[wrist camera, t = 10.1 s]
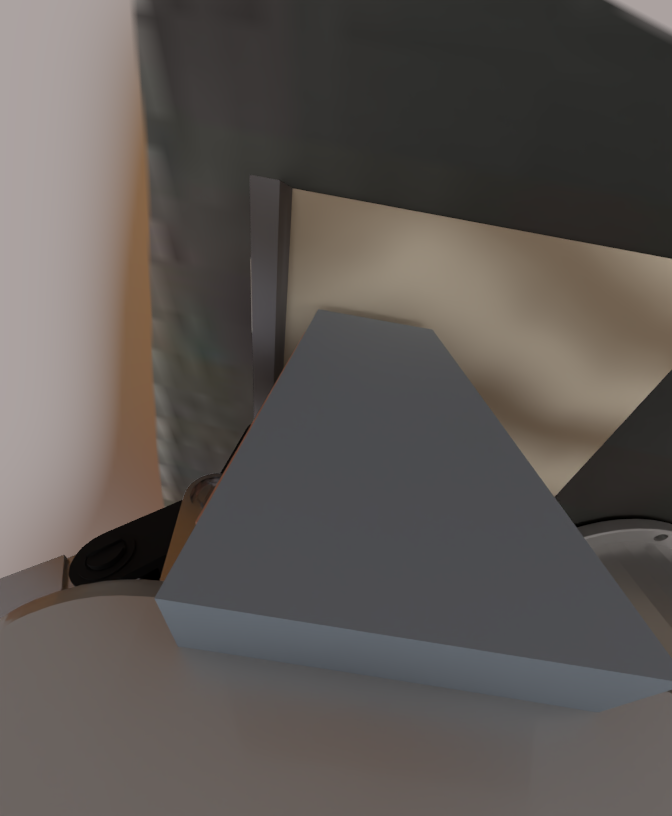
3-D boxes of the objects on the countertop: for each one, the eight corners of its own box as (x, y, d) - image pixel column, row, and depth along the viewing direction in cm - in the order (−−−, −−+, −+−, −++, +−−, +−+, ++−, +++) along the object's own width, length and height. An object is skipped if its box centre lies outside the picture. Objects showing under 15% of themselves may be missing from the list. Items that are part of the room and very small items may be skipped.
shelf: (526, 498, 21) (553, 541, 18) (267, 455, 21) (252, 492, 18) (717, 270, 12) (829, 282, 9) (272, 187, 12) (243, 173, 9)
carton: (385, 461, 16) (418, 768, 7) (299, 447, 16) (214, 737, 7) (432, 329, 12) (690, 685, 3) (313, 308, 12) (132, 593, 2)
